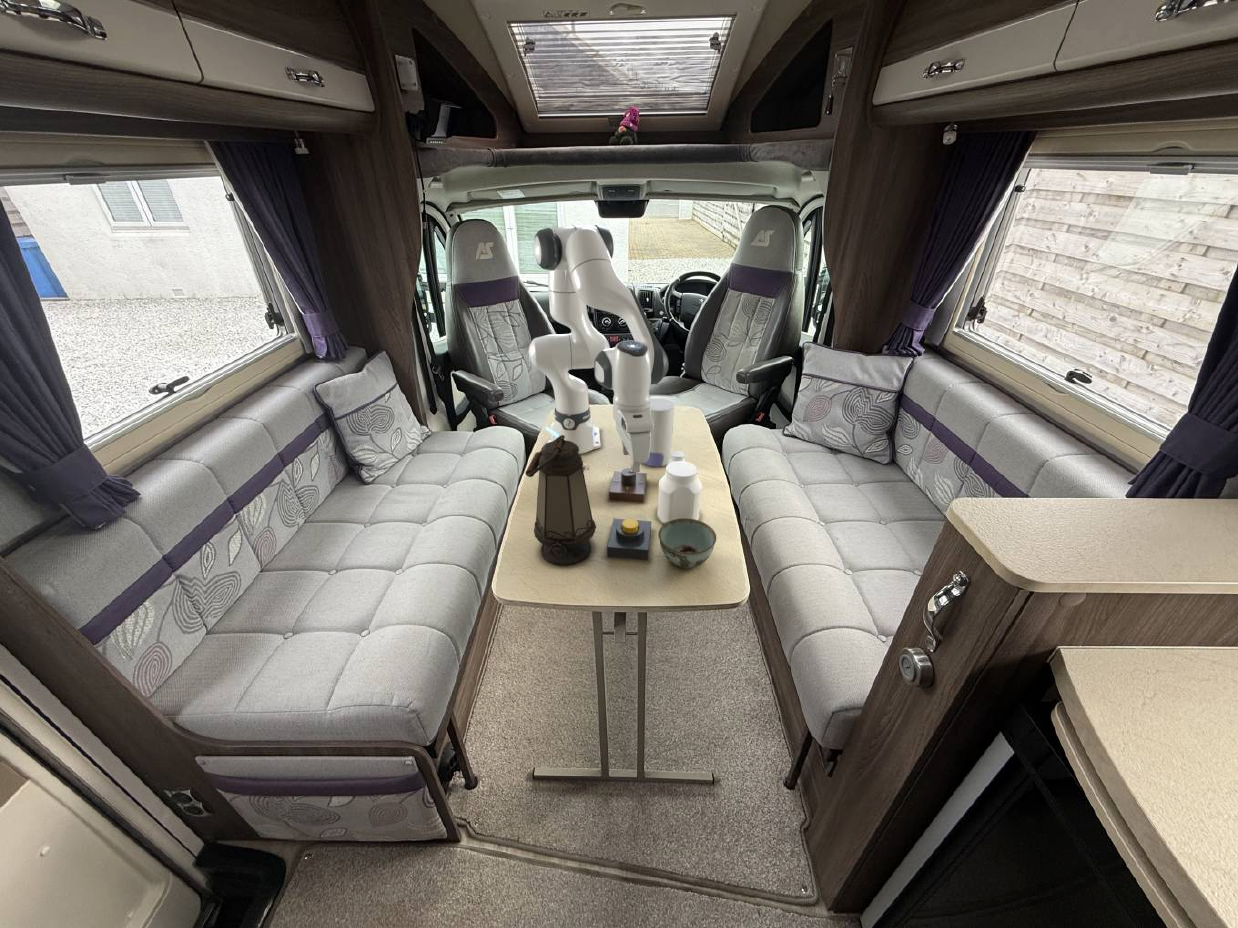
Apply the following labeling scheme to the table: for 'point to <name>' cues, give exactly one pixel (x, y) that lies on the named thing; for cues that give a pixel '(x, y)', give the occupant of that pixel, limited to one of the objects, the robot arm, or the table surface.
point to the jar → (679, 492)
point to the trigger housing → (629, 541)
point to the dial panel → (628, 489)
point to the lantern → (562, 504)
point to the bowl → (686, 542)
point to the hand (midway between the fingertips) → (630, 462)
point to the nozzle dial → (628, 477)
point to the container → (661, 432)
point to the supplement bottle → (677, 456)
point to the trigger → (630, 526)
